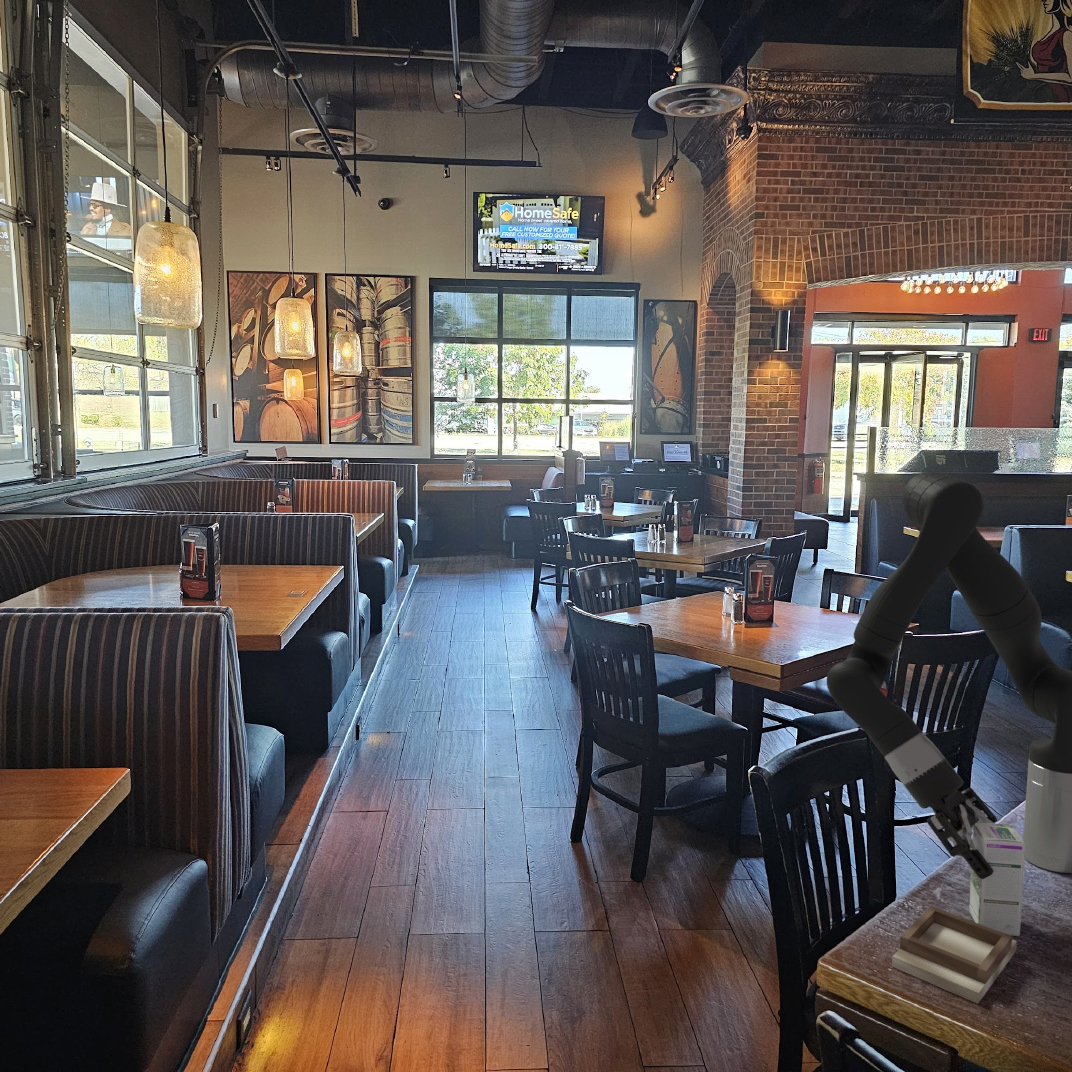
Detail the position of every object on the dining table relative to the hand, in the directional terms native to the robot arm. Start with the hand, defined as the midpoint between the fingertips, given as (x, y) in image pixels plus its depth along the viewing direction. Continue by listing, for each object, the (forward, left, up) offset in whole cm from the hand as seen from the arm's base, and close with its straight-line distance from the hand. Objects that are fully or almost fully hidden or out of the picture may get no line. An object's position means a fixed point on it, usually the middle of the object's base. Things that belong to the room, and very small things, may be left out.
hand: (997, 865), depth 127 cm
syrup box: (0, 0, -9) cm, 9 cm away
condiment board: (+13, -1, -9) cm, 16 cm away
